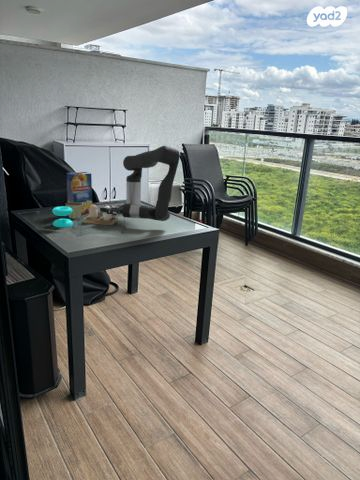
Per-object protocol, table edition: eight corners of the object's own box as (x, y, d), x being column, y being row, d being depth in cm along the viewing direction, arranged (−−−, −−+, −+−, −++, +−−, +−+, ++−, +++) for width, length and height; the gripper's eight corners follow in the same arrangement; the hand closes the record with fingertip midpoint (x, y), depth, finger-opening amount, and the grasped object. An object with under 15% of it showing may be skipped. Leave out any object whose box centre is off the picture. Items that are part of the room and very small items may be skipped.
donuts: (48, 208, 188) (59, 205, 197) (49, 227, 191) (60, 223, 200) (64, 211, 185) (76, 207, 194) (65, 230, 188) (76, 225, 197)
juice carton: (74, 216, 214) (72, 174, 207) (68, 213, 220) (66, 173, 212) (92, 213, 222) (91, 173, 215) (86, 210, 227) (85, 171, 220)
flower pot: (75, 215, 215) (74, 201, 213) (87, 218, 211) (86, 203, 208) (62, 219, 208) (61, 204, 205) (74, 221, 203) (74, 206, 200)
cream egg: (104, 220, 204) (104, 204, 201) (112, 221, 204) (112, 205, 200) (101, 223, 200) (101, 206, 197) (109, 223, 199) (109, 207, 196)
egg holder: (89, 220, 208) (89, 214, 207) (117, 222, 205) (117, 217, 204) (82, 224, 200) (82, 218, 199) (112, 227, 197) (111, 221, 196)
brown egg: (91, 219, 205) (90, 203, 202) (99, 220, 205) (98, 204, 202) (87, 221, 201) (87, 205, 198) (95, 222, 200) (95, 205, 197)
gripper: (136, 201, 203) (106, 198, 205) (128, 207, 189) (96, 204, 192) (136, 214, 205) (107, 212, 208) (128, 221, 192) (97, 218, 194)
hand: (102, 208), depth 200 cm, fingers open, 5 cm apart
